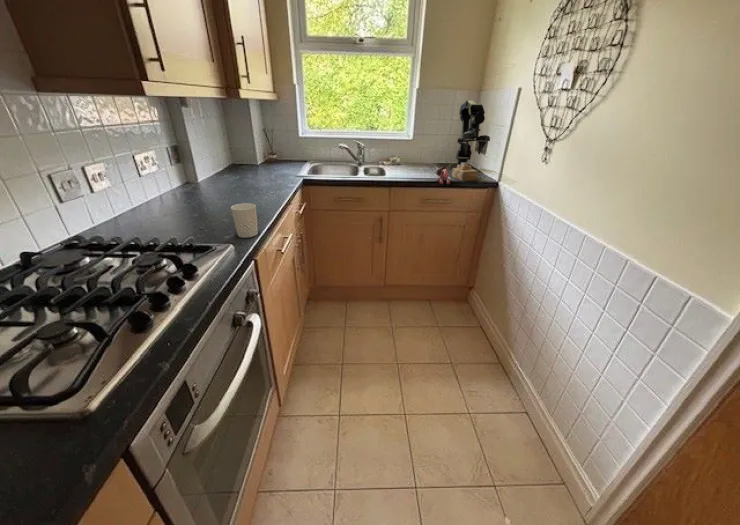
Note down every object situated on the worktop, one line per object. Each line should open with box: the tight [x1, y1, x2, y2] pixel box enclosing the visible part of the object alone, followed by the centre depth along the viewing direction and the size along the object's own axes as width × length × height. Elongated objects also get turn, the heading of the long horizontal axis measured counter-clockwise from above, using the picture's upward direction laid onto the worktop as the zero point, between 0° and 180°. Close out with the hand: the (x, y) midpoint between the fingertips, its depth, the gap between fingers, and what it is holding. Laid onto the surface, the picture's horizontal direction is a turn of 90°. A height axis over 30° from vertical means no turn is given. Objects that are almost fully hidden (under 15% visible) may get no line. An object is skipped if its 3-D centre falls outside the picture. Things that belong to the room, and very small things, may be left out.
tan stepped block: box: [451, 164, 479, 182], centre depth 196 cm, size 12×10×7 cm
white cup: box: [230, 202, 259, 239], centre depth 113 cm, size 8×8×10 cm
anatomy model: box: [434, 161, 454, 185], centre depth 186 cm, size 10×14×15 cm
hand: (471, 154), depth 198 cm, fingers open, 9 cm apart
